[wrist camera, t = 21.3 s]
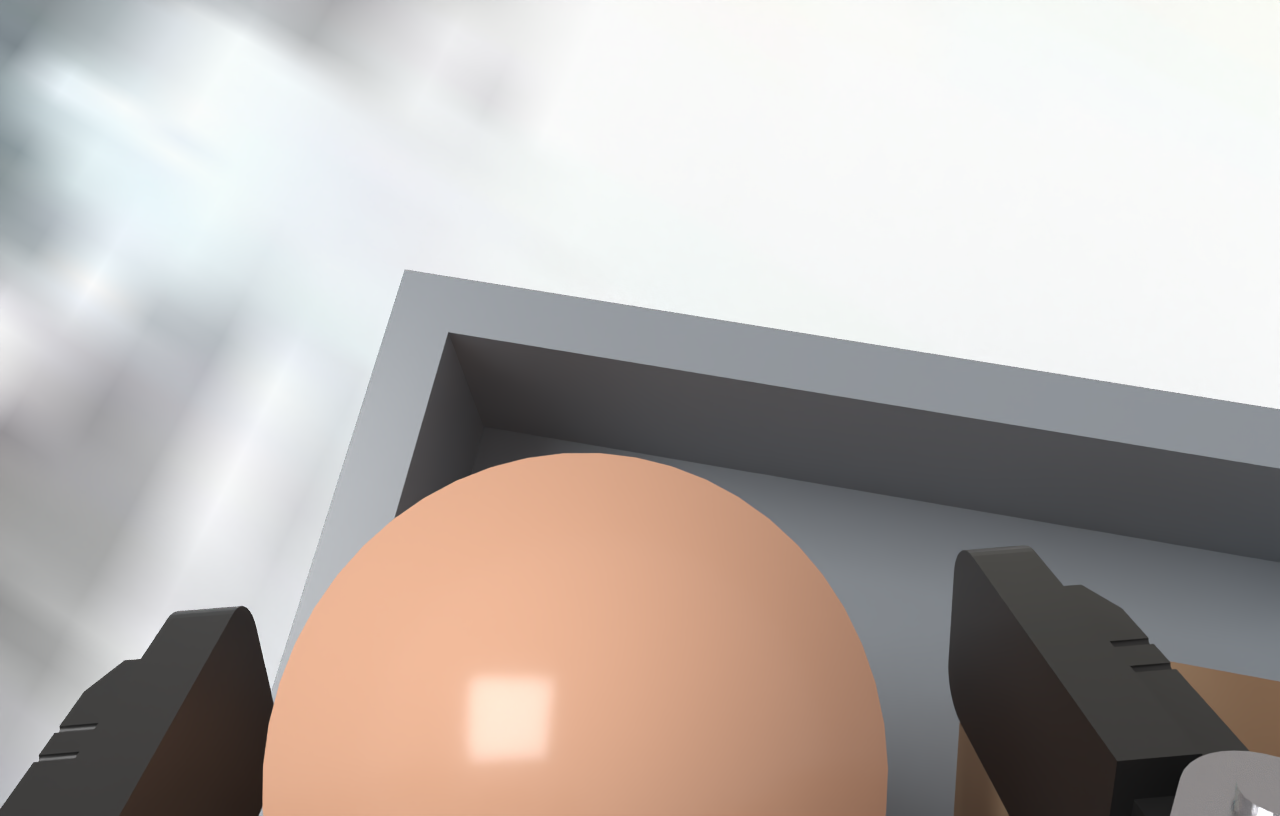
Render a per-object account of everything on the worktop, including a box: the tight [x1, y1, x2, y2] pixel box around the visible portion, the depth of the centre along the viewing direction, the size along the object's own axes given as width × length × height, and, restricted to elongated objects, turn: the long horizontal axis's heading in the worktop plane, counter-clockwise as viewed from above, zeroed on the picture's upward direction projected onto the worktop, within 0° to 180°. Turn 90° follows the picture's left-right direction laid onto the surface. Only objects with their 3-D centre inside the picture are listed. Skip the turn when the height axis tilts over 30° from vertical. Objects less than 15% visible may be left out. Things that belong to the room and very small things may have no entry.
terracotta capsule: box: [262, 453, 888, 816], centre depth 13 cm, size 5×5×10 cm
